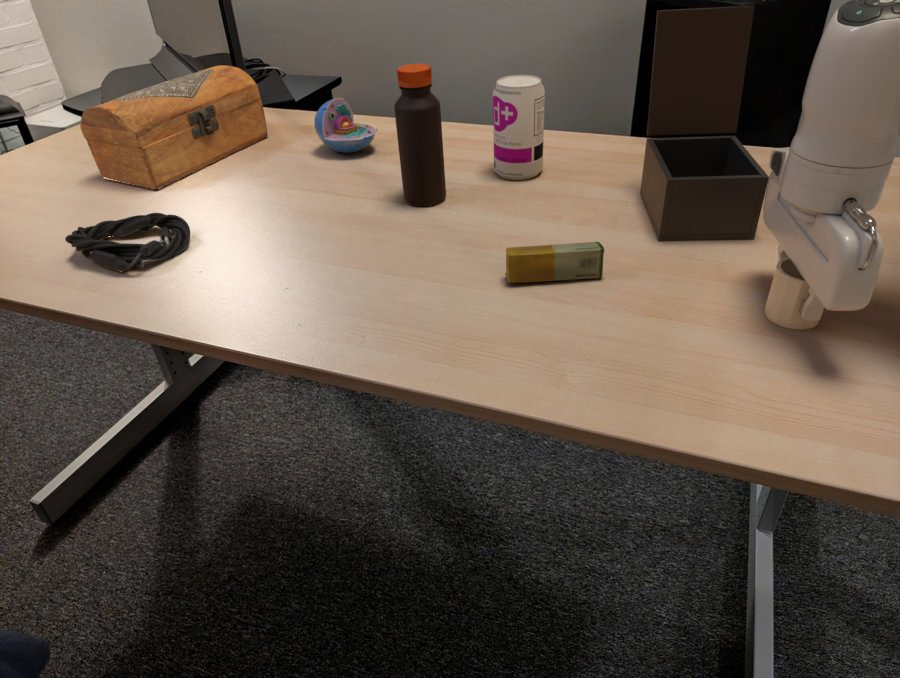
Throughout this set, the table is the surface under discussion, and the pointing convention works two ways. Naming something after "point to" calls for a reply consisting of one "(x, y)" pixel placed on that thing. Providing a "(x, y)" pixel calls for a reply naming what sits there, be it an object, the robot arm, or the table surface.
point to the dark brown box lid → (698, 70)
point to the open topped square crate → (702, 188)
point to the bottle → (419, 137)
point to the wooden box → (175, 126)
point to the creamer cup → (788, 297)
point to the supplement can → (518, 126)
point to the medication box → (554, 262)
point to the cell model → (341, 127)
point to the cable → (125, 253)
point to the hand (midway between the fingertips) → (796, 299)
